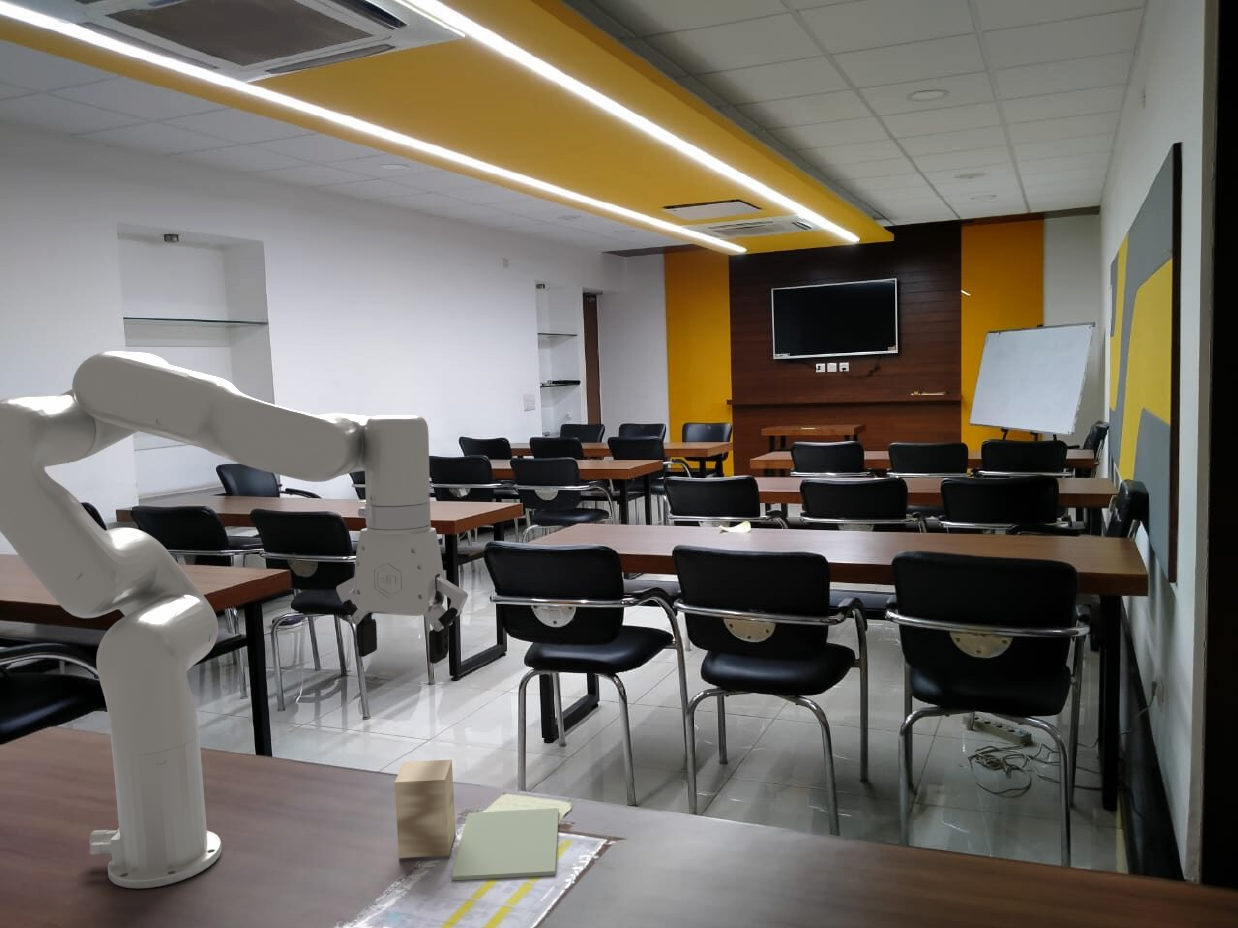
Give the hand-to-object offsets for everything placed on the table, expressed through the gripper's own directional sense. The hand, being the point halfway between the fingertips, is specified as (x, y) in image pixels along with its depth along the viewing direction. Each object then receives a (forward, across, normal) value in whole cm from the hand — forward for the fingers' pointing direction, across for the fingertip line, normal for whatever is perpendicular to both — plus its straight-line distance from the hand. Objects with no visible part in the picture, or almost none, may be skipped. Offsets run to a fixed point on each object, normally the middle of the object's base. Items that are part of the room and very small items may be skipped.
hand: (402, 656), depth 115 cm
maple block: (+24, +2, +1) cm, 25 cm away
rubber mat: (+24, +12, +4) cm, 27 cm away
